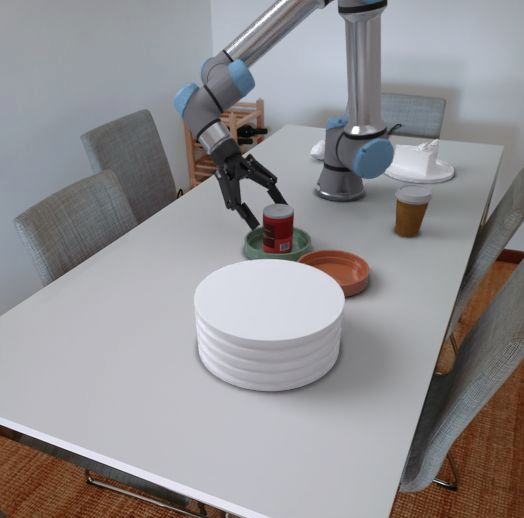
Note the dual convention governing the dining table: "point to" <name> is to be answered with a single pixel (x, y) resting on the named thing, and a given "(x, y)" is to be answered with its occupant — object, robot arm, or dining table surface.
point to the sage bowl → (256, 252)
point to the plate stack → (269, 323)
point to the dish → (419, 164)
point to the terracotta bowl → (340, 268)
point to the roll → (318, 150)
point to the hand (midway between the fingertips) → (271, 218)
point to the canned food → (278, 228)
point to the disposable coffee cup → (411, 209)
